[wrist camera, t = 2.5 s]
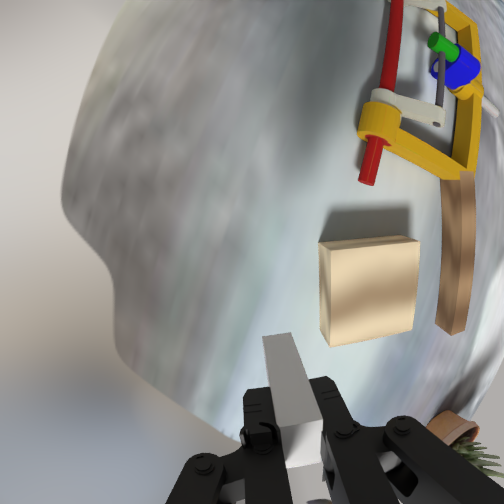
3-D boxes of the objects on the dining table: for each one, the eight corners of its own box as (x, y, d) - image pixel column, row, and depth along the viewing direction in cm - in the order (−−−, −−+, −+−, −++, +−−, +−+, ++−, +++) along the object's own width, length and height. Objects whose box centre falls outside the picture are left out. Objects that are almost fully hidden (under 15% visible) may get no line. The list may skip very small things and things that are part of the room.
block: (317, 241, 26) (330, 250, 22) (398, 234, 26) (420, 241, 23) (318, 328, 28) (329, 347, 24) (394, 314, 28) (411, 329, 24)
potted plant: (455, 424, 34) (517, 505, 10) (414, 448, 35) (468, 542, 10) (463, 390, 32) (542, 479, 8) (417, 418, 32) (489, 527, 8)
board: (439, 171, 25) (459, 170, 21) (453, 171, 25) (473, 171, 21) (435, 323, 29) (450, 335, 25) (448, 319, 29) (464, 330, 25)
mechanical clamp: (368, 173, 18) (399, -49, 13) (339, 176, 25) (379, -25, 19) (503, 244, 20) (509, 32, 15) (467, 234, 26) (483, 44, 21)
